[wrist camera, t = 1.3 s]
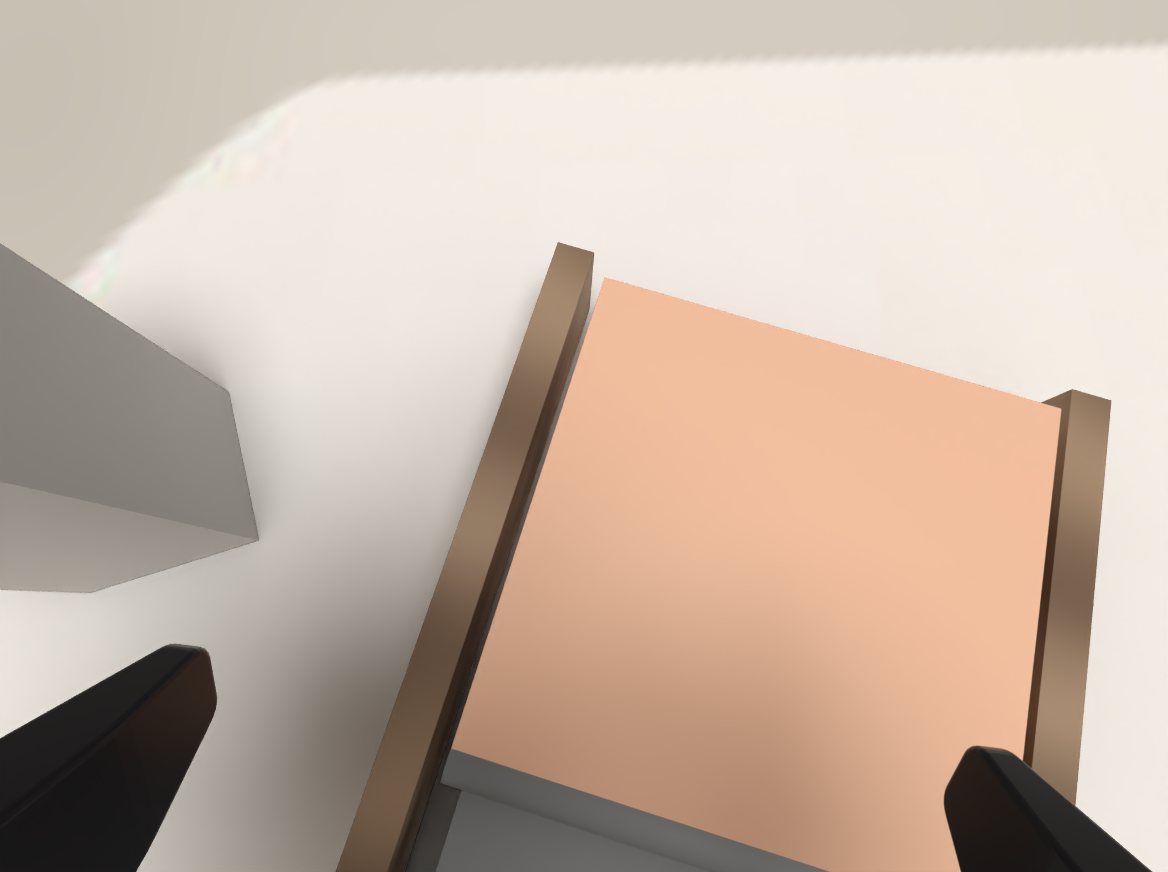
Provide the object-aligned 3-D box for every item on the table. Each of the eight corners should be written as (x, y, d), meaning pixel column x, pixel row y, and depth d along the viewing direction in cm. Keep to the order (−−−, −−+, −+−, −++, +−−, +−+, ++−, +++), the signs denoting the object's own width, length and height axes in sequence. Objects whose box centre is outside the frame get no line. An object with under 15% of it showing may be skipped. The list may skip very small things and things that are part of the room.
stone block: (258, 540, 22) (-117, 454, 10) (89, 592, 21) (-535, 570, 9) (228, 392, 23) (-136, 154, 11) (68, 437, 23) (-503, 239, 10)
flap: (880, 1117, 18) (970, 1262, 14) (398, 952, 18) (353, 1045, 15) (977, 442, 23) (1064, 407, 19) (597, 331, 24) (604, 275, 20)
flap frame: (912, 1295, 17) (1014, 1493, 13) (292, 1076, 18) (218, 1203, 14) (1021, 434, 24) (1111, 400, 20) (558, 300, 24) (558, 242, 21)
